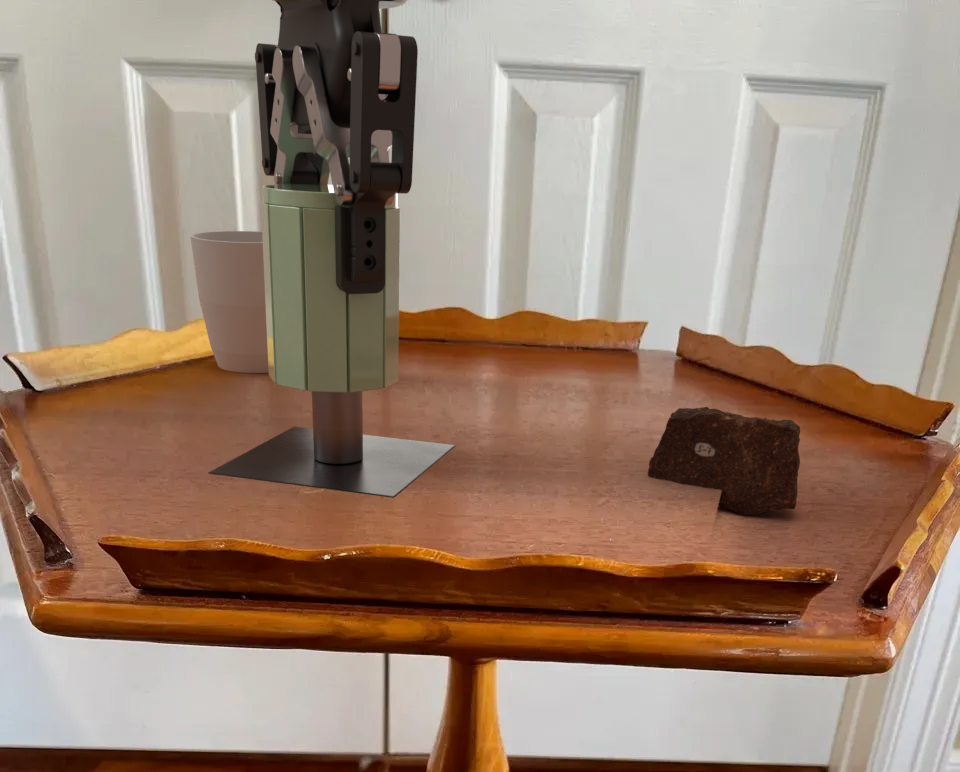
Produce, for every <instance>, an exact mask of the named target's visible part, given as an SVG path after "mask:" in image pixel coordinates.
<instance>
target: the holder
mask: <svg viewBox="0 0 960 772" xmlns="http://www.w3.org/2000/svg"><path fill="white" fill-rule="evenodd" d="M311 410H312V411H311V413H312V428H311V427H301V426H292V427H291V428H289V429H286V430H285V431H283V432H281V433H279V434H277V435H275V436H273V437H272V438H269V439H268V440H266V441H264V442H263V443H262V442H261V444H258V445H256V446H255V447H253V448H251V449H249V450H247V451H246V452H244V453H242V454H240V455H238V456H236V457H235V458H233V459H231V460H229V461H227V462H225V463H223V464H222V465H220V466H218V467H216V468H214V469H212V470H210V471H208V472H207V474H209V475H214V476H224V477H232V478H237V479H245V480H255V481H261V482H270V483H277V484H285V485H293V486H300V487H308V488H315V489H323V490H330V491H338V492H347V493H353V494H354V493H355V494H362V495H369V496H375V497H376V496H377V497H383V498H384V497H385V498H395V497H397V496H398V495H400V493H401V492H403V491H404V490H405V489H406V488H408V486H410V485H411V484H412V483H413V482H414V481H416V480H417V479H418V478H419V477H420V476H422V475H423V474H424V473H425V472H426V471H427V470H428V469H430V468H431V467H432V466H434V465H435V464H436V463H437V462H439V460H440V459H442V458H443V457H444V456H446V455H447V454H448V453H449V452H450V451H451V450H452V449H454V448H455V447H456V445H455V444H449V443H440V442H433V441H431V442H430V441H422V440H413V439H404V438H397V437H389V436H388V437H387V436H379V435H370V434H364V431H363V430H364V423H363V421H364V414H363V411H364V409H363V391H361V392H353V393H350V392H348V391H347V393H336V392H311Z"/></svg>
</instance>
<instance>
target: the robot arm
mask: <svg viewBox="0 0 960 772" xmlns="http://www.w3.org/2000/svg"><path fill="white" fill-rule="evenodd" d="M273 1H274V2H275V3H276V4H277V5H278V6H279V9H280V17H279V31H278V40H277V44H273V43H262V42H261V43H259V42H258V43H257V44H256V47H255V52H254V62H255V69H256V70H255V71H256V72H255V73H256V85H257V99H258V116H259V130H260V131H259V132H260V143H261V144H260V145H261V166H262V169H263V172H264V175H265V176H266V177H273V182H274V183H273V184H318V185H329V180H330V178H331V185H333V189H334V194H335V199H336V201H337V203H338V204H339V205H344V207H336V206H335V255H336V284H337V287H338V288H339V289H340V290H341V291H343V292H346V293H348V294H370V293H379V292H381V291H382V290H383V288H384V286H385V217H386V208H385V205H391V204H392V203H393V200H394V194H396V193H398V194H408V193H410V191H411V189H412V184H413V168H414V167H413V165H414V164H413V162H414V145H415V143H414V142H415V122H416V102H417V101H416V97H417V80H418V79H417V77H418V76H417V75H418V54H419V53H418V52H419V51H418V50H419V49H418V43H417V39H416V38H415V37H414V36H411V35H401V34H397V33H390V32H383V28H382V21H381V11H380V10H381V9H382V10H383V9H392V8H393V9H394V8H398V7H401V6H404V5H405V4H407V2H408V1H409V0H273ZM390 149H391V160H390V159H389V154H388V151H389V150H390ZM390 161H391V162H390Z"/></svg>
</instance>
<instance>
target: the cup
mask: <svg viewBox="0 0 960 772" xmlns="http://www.w3.org/2000/svg"><path fill="white" fill-rule="evenodd" d="M189 236H190V237H189V238H190V243H191V250H192V258H193V265H194V266H193V267H194V272H195V281H196V286H197V287H196V288H197V295H198V299H199V304H200V308H201V313H202V317H203V321H204V325H205V329H206V333H207V338H208V341H209V345H210V349H211V352H212V354H213V356H214V359H215V361H216V364H217V366H218V368H219V369H221V370H225V371H228V372H234V373H235V372H236V373H243V374H245V373H246V374H269V369H268V347H267V325H266V304H265V282H264V260H263V238H262V231H254V230H253V231H252V230H249V231H247V230H227V231H226V230H224V231H206V232H196V233H193V234H190V235H189Z"/></svg>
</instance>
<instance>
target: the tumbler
mask: <svg viewBox="0 0 960 772" xmlns="http://www.w3.org/2000/svg"><path fill="white" fill-rule="evenodd" d="M398 194H399V193H396V194H394V200H393V203H392V204H391V205H385V208H386V217H385V286H384V288H383V290H382V291H381V292H379V293H370V294H348V293H346V292H343V291H341V290H340V289H339V288H338V287H337V284H336V255H335V206H336V207H344V205H339V204H338V203H337V201H336V199H335V194H334V189H333V184H328V185H318V184H275V183H273V184H272V183H271V184H264V185H262V201H260V213H261V232H262V238H263V260H264V282H265V304H266V325H267V347H268V369H269V373H268V376H269V379H271V380H272V382H273V383H274V384H276V385H277V386H282V387H285V388H289V389H295V390H298V391H303V392H307V391H308V392H311V393H312V392H336V393H347V391H348V392H350V393H353V392H361V391H362V392H367V391H376V390H377V391H378V390H383V389H386V388H388V387H390V386H391V385H393V384H395V383H397V382H398V381H399V363H400V362H399V357H400V356H399V354H400V353H399V351H400V350H399V349H400V263H401V261H400V259H401V258H400V255H401V254H400V253H401V252H400V251H401V250H400V249H401V245H400V244H401V207H399V206H398V199H399V198H398V197H399V196H398Z"/></svg>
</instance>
